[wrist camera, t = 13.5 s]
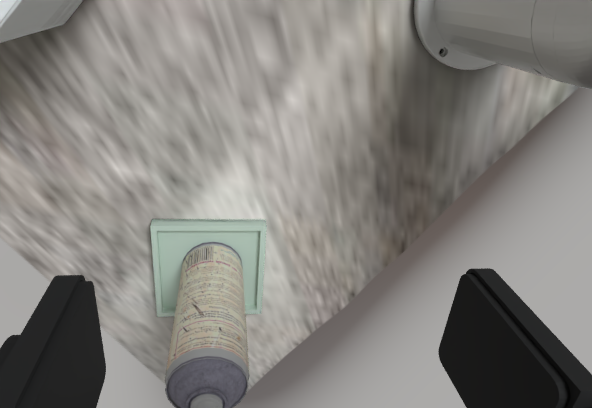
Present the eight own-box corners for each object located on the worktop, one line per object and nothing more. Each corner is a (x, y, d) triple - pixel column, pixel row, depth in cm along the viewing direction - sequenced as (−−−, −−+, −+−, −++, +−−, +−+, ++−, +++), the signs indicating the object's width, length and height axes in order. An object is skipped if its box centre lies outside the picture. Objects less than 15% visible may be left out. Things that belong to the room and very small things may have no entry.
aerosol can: (169, 273, 50) (139, 433, 32) (205, 231, 48) (194, 376, 30) (218, 300, 52) (216, 461, 35) (254, 261, 50) (270, 410, 33)
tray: (265, 219, 49) (266, 226, 48) (260, 305, 54) (261, 313, 53) (152, 219, 47) (150, 225, 46) (158, 308, 52) (157, 316, 51)
